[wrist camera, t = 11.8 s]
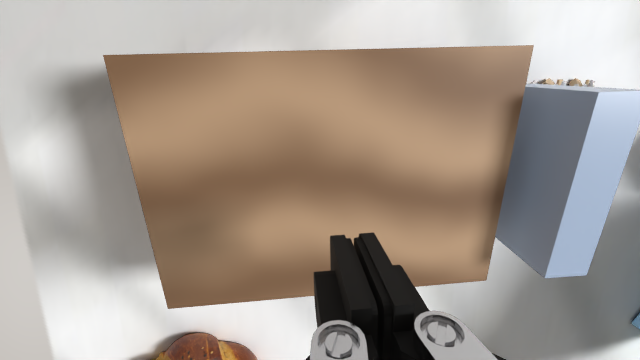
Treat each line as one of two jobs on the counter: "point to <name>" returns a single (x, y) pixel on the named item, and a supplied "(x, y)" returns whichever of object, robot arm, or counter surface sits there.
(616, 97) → the pale blue upright block
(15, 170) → the counter surface
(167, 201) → the brown wooden block
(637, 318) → the gum box
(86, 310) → the counter surface
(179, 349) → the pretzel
